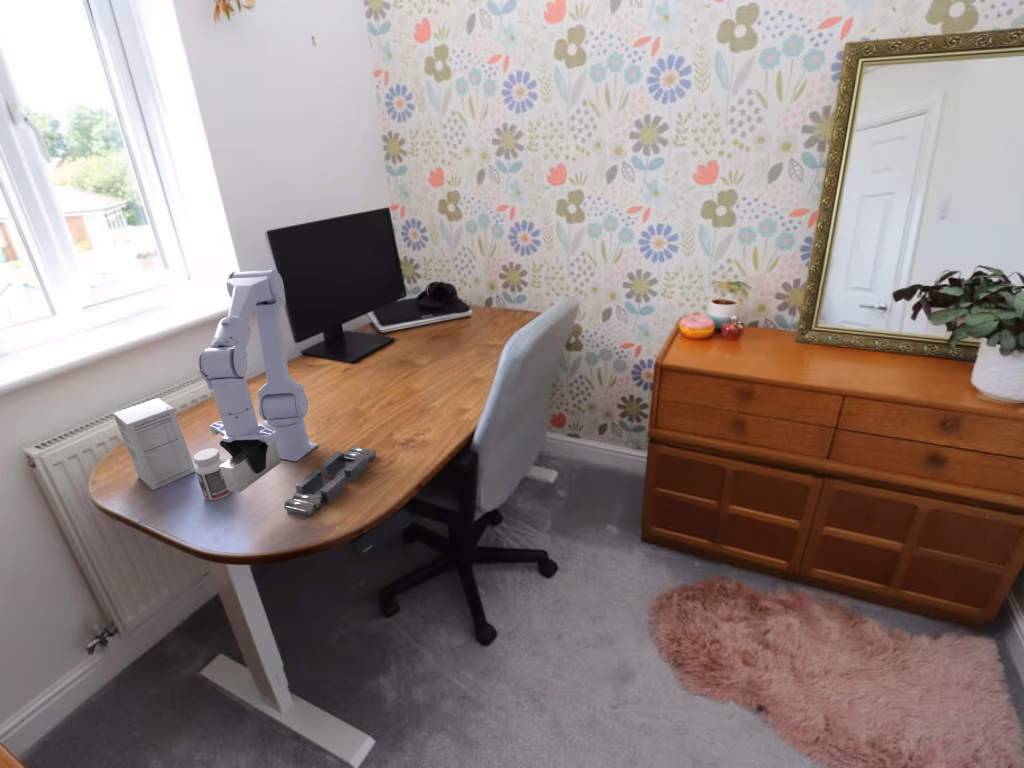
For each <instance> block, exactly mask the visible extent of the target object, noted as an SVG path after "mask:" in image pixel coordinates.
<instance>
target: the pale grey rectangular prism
mask: <svg viewBox="0 0 1024 768" xmlns="http://www.w3.org/2000/svg"><path fill="white" fill-rule="evenodd" d="M281 463H282V459H280V456H279V452H278V448H277V444H276V442H275V443H273V444H272V445H268V449H267V454H266V469H264V470H263V471H262V472H260V473H259V474H257V473H255V471H254V470H253V467H252V465H251V462H250V460H249V458H248V456H247V455H246V454H245V452H244V451H242V452H240V453H239V454H237V455H236V456H234V457H231V458H230V459H228V460H226V461H225V463H223V464H222V465H220V469H221V472H222V475H223V478H224V481H225V484H226V487H227V490H228V491H232V492H233V493H238V494H240V493H242V492H243V491H244V490H246V489H247V488H248V487H250V486H252V484H254V483H255V482H257V481H258V480H259V479H260V478H262V477H263V476H265V475H266V474H268V472H270V471H272V470H273V469H274V468H275V467H277V466H278V465H279V464H281Z"/></svg>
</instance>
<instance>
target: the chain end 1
mask: <svg viewBox="0 0 1024 768" xmlns="http://www.w3.org/2000/svg"><path fill="white" fill-rule="evenodd" d="M295 488H296V492H295V493H294V494H293V496H292V499H290V498H289V499H287V500H286V501H285V502H284V510H286V512H287V514H289V515H295V516H298V517H303V518H307V519H308V518H309V517H310V516H311V517H312V516H314V515H315V513H316V511H317V510H318V509H321V508H322V507H323V506H324V504H326V505H330V504H331V503H333V502H334V501H335V500H337V498H338V497H339V496H340V495H342V494H343V492H344V491H346V489H348V486H347V481H346V479H345V476H341V475H338V476H336V477H335V478H334V479H332V480H329V479H324V478H323V475H322V470H315V469H314V470H313V471H312V472H310V473H309V474H308V475H307V476H305V477H304V478H303V479H302V480H300V481H299V482H297V484H295Z"/></svg>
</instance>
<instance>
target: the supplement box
mask: <svg viewBox="0 0 1024 768" xmlns="http://www.w3.org/2000/svg"><path fill="white" fill-rule="evenodd" d="M112 415H113V418H114V420H115V422H116V425H117V427H118V430H119V432H120V435H121V437H122V439H123V441H124V444H125V447H126V450H127V452H128V454H129V456H130V458H131V461H132V463H133V466H134V468H135V470H136V474H137V475H138V477H139V479H140V480H142V482H143V483H144V484H145V485H147V486H148V488H150V489H151V490H152V491H155V490H157V489H160V488H161V487H164V486H166V485H168V484H170V483H173V482H175V481H177V480H179V479H182V478H184V477H185V476H188V475H191V474H193V473H196V472H195V467H196V466H195V465H194V461H193V459H192V456H191V454H190V451H189V448H188V446H187V443H186V440H185V437H184V435H183V432H182V429H181V427H180V423H179V421H178V418H177V415H176V413H175V409H174V408H173V407H172V406H171V405H169V404H168V403H166V402H165V401H163V400H161V398H159V397H157V398H154V399H151V400H148V401H147V400H146V401H145V402H142V403H139V404H136V405H133V406H129V407H127V408H124V409H121V410H118V411H116V412H113V413H112Z"/></svg>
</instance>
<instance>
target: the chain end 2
mask: <svg viewBox="0 0 1024 768" xmlns="http://www.w3.org/2000/svg"><path fill="white" fill-rule="evenodd" d="M376 457H377V452H376V450H375V449H371V448H364V447H359V446H354V445H353V446H351V447H350V448H349V451H346V450H345V452H342V451H336V452H335V453H334V454H333V455H331V456H330V457H329V458H328V459H326V460H325V461H324V462H323V463H322V464H320V465H319V466H320V471H321V475H322V478H323V477H324V478H329V479H332V480H333V479H334V478H335V477H336V476H338V475H341V476H345V479H346V483H347V482H349V483H353V484H354V482H355V481H356V480H357V479H358V478H360V477H361V475H362V474H364V473H365V472H366V471H367V470H368V469H369V464H370V462H371V460H375V459H376Z"/></svg>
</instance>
